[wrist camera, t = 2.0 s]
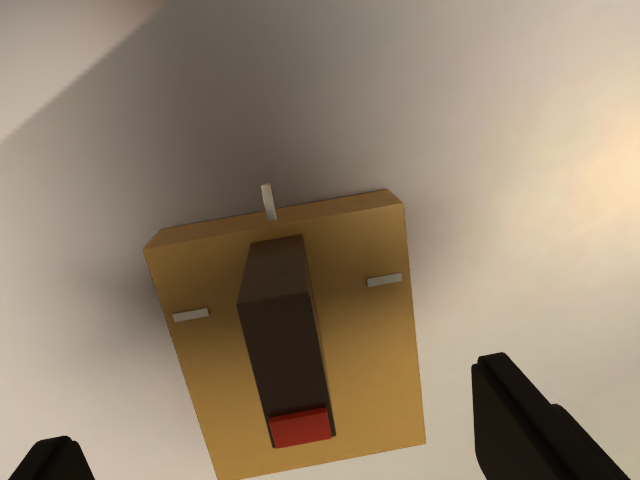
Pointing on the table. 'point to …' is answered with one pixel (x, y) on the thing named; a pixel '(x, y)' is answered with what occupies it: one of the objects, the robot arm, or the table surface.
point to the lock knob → (285, 342)
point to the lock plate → (334, 321)
